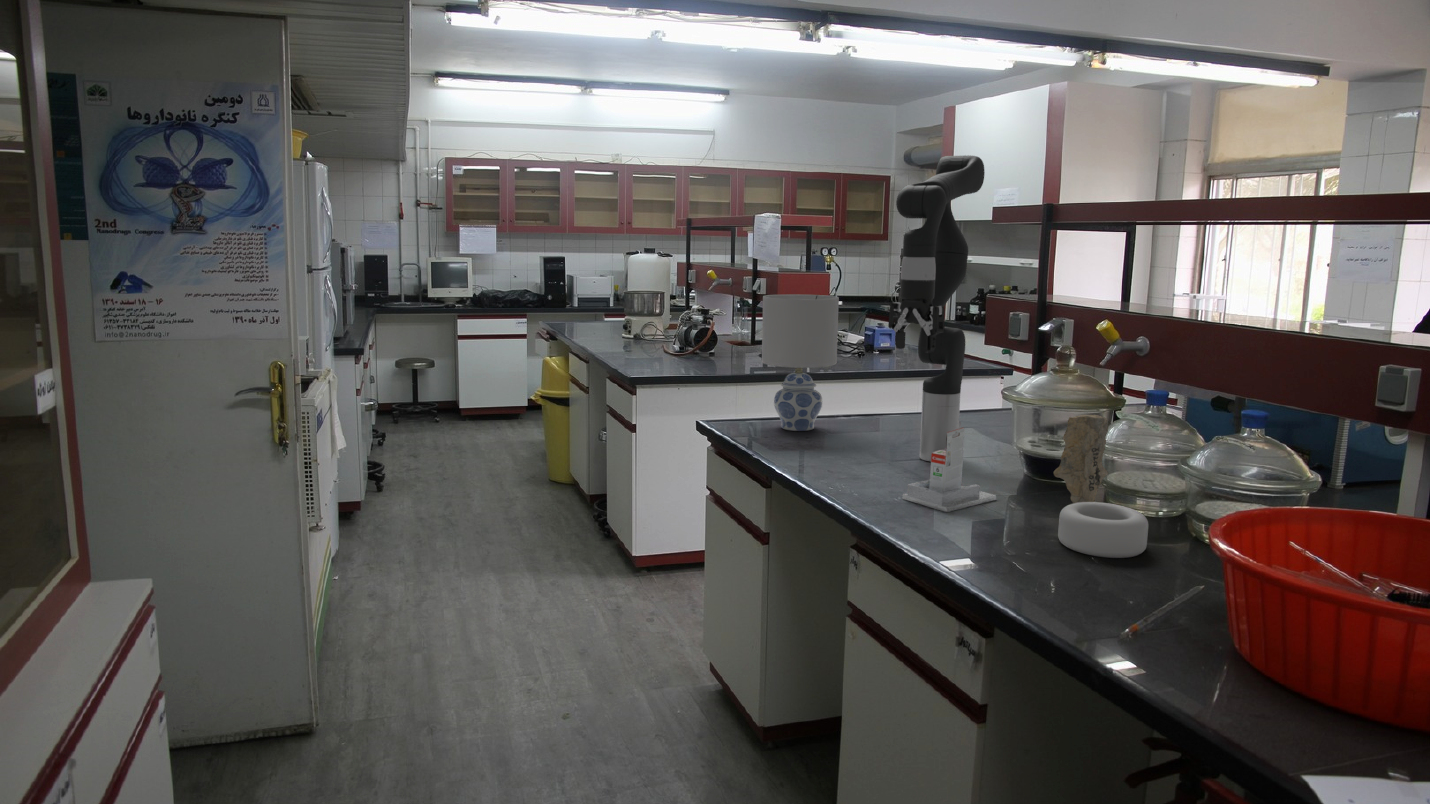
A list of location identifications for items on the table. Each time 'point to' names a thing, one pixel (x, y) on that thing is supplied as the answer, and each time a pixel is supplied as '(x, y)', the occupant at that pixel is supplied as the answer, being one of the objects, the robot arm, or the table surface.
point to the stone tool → (1083, 456)
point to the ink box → (948, 463)
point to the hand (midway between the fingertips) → (914, 350)
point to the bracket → (946, 496)
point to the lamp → (799, 351)
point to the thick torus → (1103, 529)
